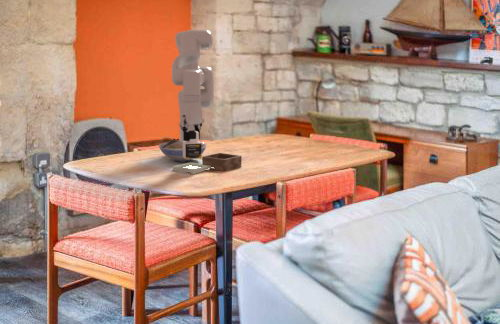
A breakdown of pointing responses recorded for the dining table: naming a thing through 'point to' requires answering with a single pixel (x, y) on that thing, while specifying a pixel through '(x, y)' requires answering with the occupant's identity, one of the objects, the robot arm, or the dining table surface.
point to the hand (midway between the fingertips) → (191, 139)
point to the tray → (192, 171)
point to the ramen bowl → (176, 149)
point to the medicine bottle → (192, 146)
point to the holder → (222, 161)
